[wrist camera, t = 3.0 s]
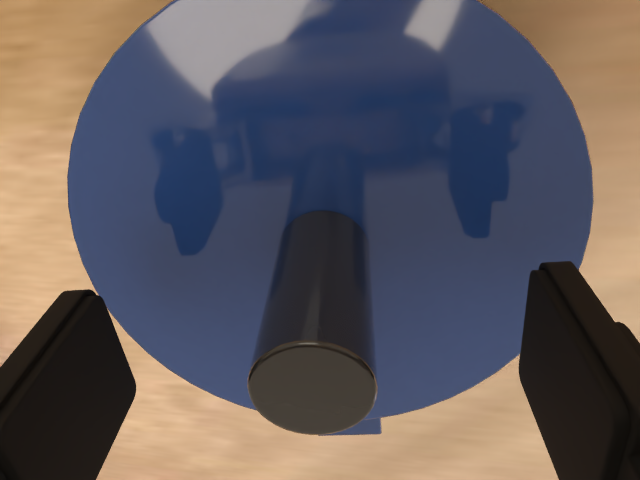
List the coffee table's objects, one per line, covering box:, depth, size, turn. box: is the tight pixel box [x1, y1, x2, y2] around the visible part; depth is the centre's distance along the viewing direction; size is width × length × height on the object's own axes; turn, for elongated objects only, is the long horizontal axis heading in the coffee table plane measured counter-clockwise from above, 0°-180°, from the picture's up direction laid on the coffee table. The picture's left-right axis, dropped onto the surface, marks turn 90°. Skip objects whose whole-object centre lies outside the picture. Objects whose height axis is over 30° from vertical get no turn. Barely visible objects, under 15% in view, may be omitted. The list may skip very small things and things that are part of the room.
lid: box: [67, 0, 593, 435], centre depth 12 cm, size 14×14×6 cm
